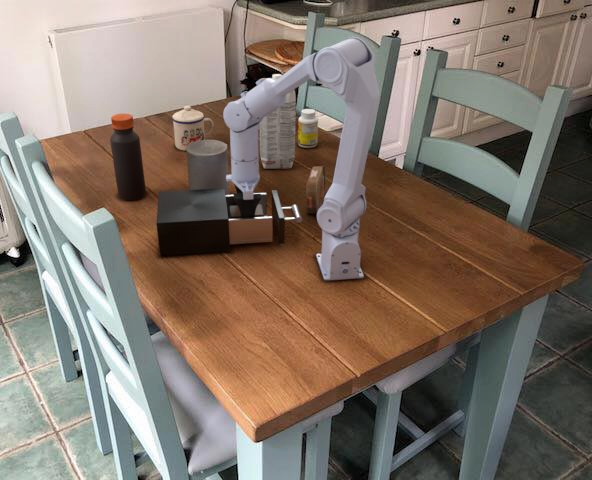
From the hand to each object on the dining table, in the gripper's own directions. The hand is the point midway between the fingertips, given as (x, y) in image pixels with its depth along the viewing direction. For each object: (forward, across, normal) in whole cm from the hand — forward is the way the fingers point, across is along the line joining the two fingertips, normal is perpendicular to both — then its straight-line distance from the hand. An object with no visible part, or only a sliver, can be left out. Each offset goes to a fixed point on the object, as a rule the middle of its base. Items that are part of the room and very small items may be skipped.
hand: (246, 214), depth 137 cm
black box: (+5, 0, -12) cm, 13 cm away
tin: (+5, -12, +18) cm, 22 cm away
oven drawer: (+4, 0, +3) cm, 5 cm away
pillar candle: (+5, -18, -8) cm, 20 cm away
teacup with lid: (+5, -54, -10) cm, 55 cm away
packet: (+3, 0, 0) cm, 3 cm away
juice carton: (+5, -37, +12) cm, 39 cm away
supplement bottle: (+5, -49, +22) cm, 54 cm away
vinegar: (+5, -23, -26) cm, 35 cm away
